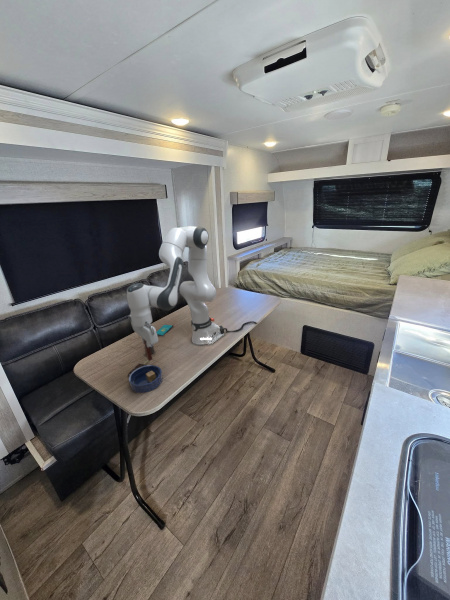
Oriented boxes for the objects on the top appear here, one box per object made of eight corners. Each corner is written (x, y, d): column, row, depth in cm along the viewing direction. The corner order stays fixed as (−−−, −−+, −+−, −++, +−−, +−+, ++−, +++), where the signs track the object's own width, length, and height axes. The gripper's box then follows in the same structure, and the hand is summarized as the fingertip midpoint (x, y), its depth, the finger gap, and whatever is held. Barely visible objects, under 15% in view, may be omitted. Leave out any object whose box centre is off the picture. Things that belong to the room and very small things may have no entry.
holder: (152, 350, 148) (150, 342, 146) (156, 353, 145) (154, 345, 143) (144, 353, 145) (142, 345, 143) (148, 357, 142) (146, 348, 140)
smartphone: (173, 325, 177) (162, 335, 163) (173, 326, 177) (162, 336, 164) (164, 324, 179) (153, 334, 165) (164, 325, 179) (153, 335, 166)
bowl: (154, 368, 131) (152, 361, 129) (168, 382, 120) (167, 374, 118) (126, 383, 122) (123, 375, 120) (138, 399, 111) (136, 390, 109)
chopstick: (150, 357, 119) (145, 331, 113) (152, 359, 117) (147, 332, 112) (147, 359, 117) (141, 332, 112) (149, 360, 116) (143, 333, 111)
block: (153, 375, 125) (151, 370, 123) (156, 379, 122) (155, 373, 121) (146, 379, 122) (145, 373, 121) (149, 382, 120) (148, 376, 119)
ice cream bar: (144, 360, 139) (127, 377, 126) (144, 358, 138) (126, 374, 125) (152, 361, 137) (135, 379, 124) (151, 359, 137) (135, 376, 124)
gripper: (159, 323, 104) (163, 350, 109) (139, 310, 118) (144, 335, 123) (145, 328, 100) (150, 356, 105) (126, 315, 115) (132, 340, 120)
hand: (147, 345), depth 114 cm, fingers closed on chopstick, 2 cm apart
